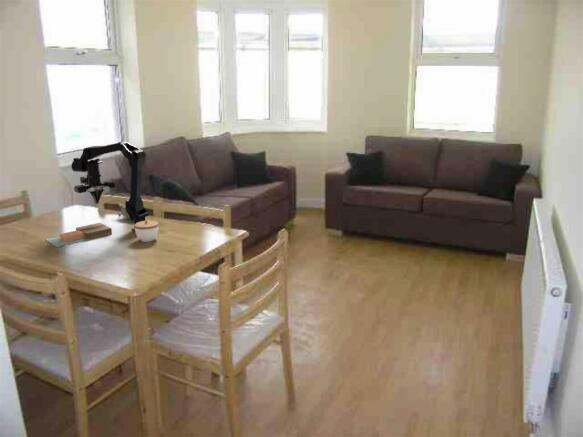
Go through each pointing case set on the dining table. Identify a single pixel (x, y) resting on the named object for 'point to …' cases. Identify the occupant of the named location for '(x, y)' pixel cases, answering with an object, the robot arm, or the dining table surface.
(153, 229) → the lidded jar
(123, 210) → the decorative bird
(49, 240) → the mat
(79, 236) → the reddish orange flat block
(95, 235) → the block
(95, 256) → the dining table surface
